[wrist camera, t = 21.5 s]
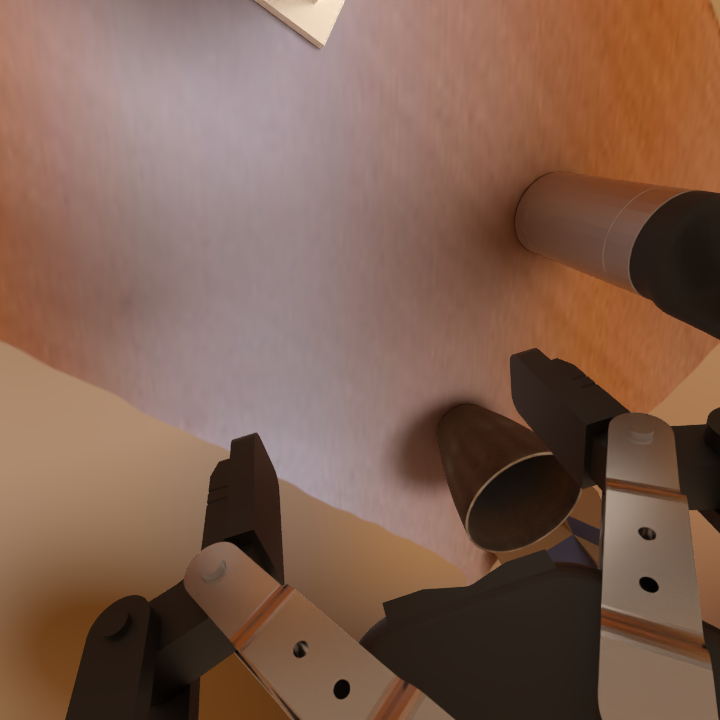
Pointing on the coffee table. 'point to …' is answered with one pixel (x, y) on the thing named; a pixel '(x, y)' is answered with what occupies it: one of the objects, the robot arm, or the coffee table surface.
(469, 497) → the plant pot
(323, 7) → the tall stand
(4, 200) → the coffee table surface
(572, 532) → the toy building blocks
